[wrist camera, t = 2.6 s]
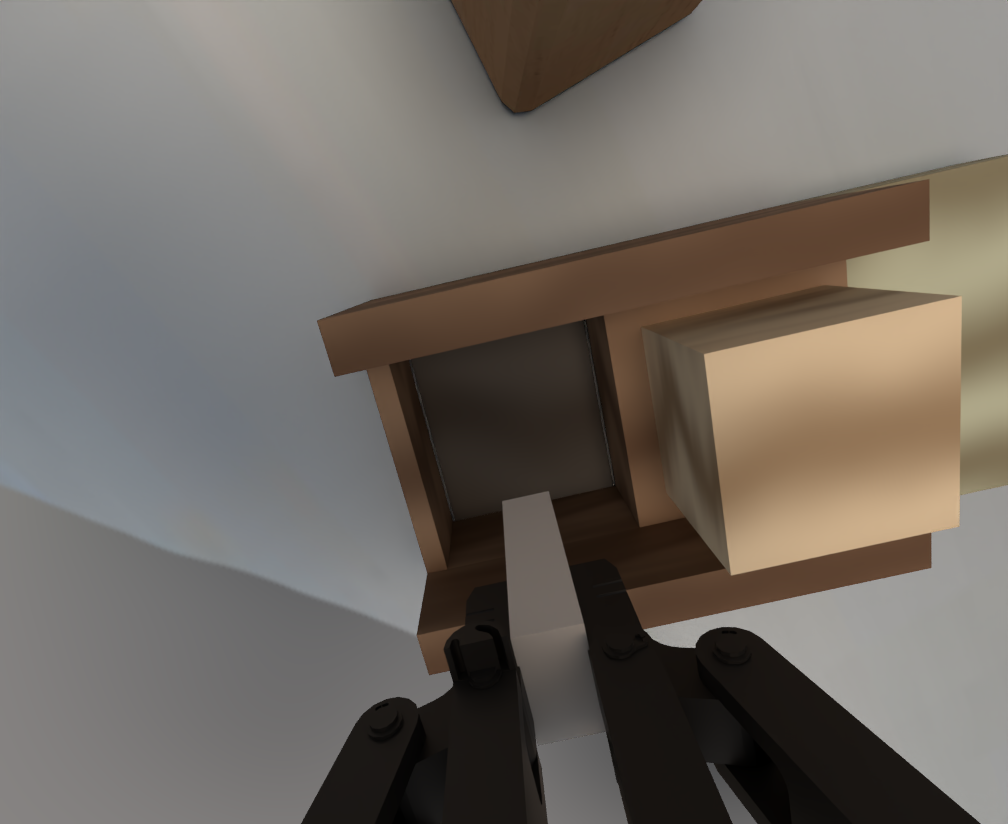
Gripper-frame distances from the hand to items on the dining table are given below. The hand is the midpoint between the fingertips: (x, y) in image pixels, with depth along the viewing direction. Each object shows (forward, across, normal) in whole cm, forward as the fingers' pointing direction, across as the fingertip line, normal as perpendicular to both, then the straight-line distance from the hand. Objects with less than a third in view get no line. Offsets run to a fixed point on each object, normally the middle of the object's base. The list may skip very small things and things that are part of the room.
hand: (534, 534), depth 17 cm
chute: (+13, +9, 0) cm, 16 cm away
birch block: (+8, +10, 0) cm, 13 cm away
